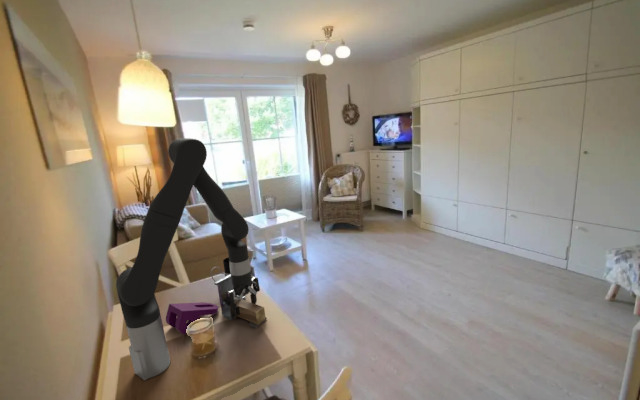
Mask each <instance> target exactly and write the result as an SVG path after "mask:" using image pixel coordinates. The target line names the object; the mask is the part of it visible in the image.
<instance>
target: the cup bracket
mask: <svg viewBox="0 0 640 400" xmlns="http://www.w3.org/2000/svg"><path fill="white" fill-rule="evenodd" d="M215 281H216V280H215ZM215 281H214V285H216V286H217V290H218V291H217V292H218V297H219V303H220V305H219V306H220V310H221V315H222V317H223V318H225V319H227V320H230V321H233V320H234V319H236V318H237V317H238V316H235V315H233V309H232V308H231V307H229V306H228V305H227V295H226V292H227V291H232V290H233V284H232V280H231V274H230V275H228V276H226V277H225V276H224V277H222V278H221V279H218V280H217V281H216V282H215ZM237 298H239V296H238V295H237ZM242 299H243V300H245V301H247V300H246V295H245V296H244V297H242Z"/></svg>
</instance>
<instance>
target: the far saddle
mask: <svg viewBox="0 0 640 400" xmlns="http://www.w3.org/2000/svg"><path fill="white" fill-rule="evenodd" d="M265 318H266V319H267V320H268V318H267V316H265ZM266 319H265V320H264V321H262V322H263V323H264V322H265V321H267V320H266ZM262 322H261V323H262ZM261 323H260V324H258V325H257V324H255V323H252V322H249V327H251V326H252V328H254V329H256V328H258V327H259V326H260V325H262V324H263V323H262V324H261Z"/></svg>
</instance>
